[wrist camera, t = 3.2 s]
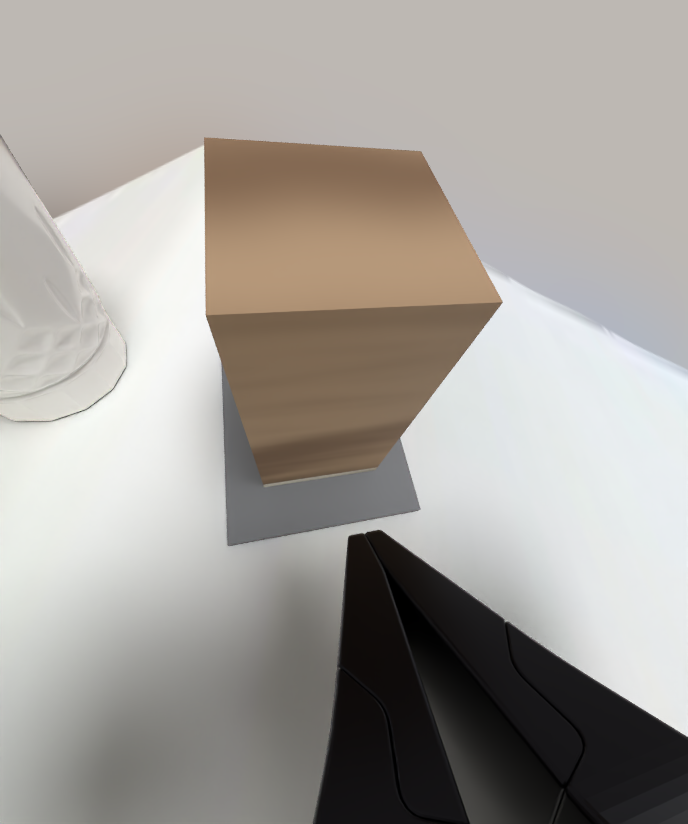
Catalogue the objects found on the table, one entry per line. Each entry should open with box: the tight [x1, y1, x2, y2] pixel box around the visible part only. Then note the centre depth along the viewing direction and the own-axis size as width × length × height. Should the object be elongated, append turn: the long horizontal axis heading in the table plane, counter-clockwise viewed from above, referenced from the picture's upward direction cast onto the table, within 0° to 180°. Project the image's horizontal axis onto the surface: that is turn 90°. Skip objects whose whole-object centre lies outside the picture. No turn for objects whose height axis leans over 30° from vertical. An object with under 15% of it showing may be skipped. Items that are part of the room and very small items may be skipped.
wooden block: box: [204, 138, 503, 487], centre depth 12 cm, size 6×6×11 cm
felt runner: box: [222, 365, 420, 546], centre depth 19 cm, size 20×9×1 cm, turn 11°
